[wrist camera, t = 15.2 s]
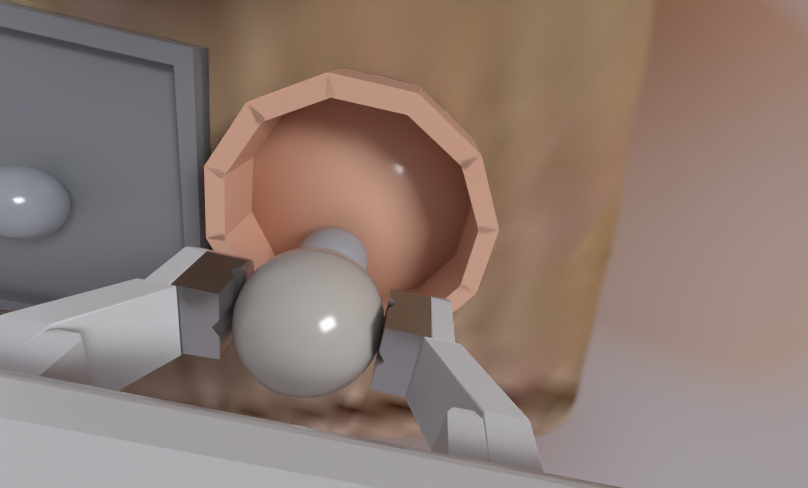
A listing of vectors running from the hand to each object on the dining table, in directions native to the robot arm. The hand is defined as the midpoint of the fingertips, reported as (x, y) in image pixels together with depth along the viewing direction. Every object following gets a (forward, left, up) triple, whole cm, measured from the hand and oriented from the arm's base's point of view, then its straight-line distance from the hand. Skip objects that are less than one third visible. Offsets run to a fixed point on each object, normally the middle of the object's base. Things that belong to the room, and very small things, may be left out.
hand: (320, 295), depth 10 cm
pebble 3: (0, 0, +1) cm, 1 cm away
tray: (-15, -4, -10) cm, 19 cm away
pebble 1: (-15, -4, -8) cm, 18 cm away
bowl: (0, -1, -10) cm, 10 cm away
